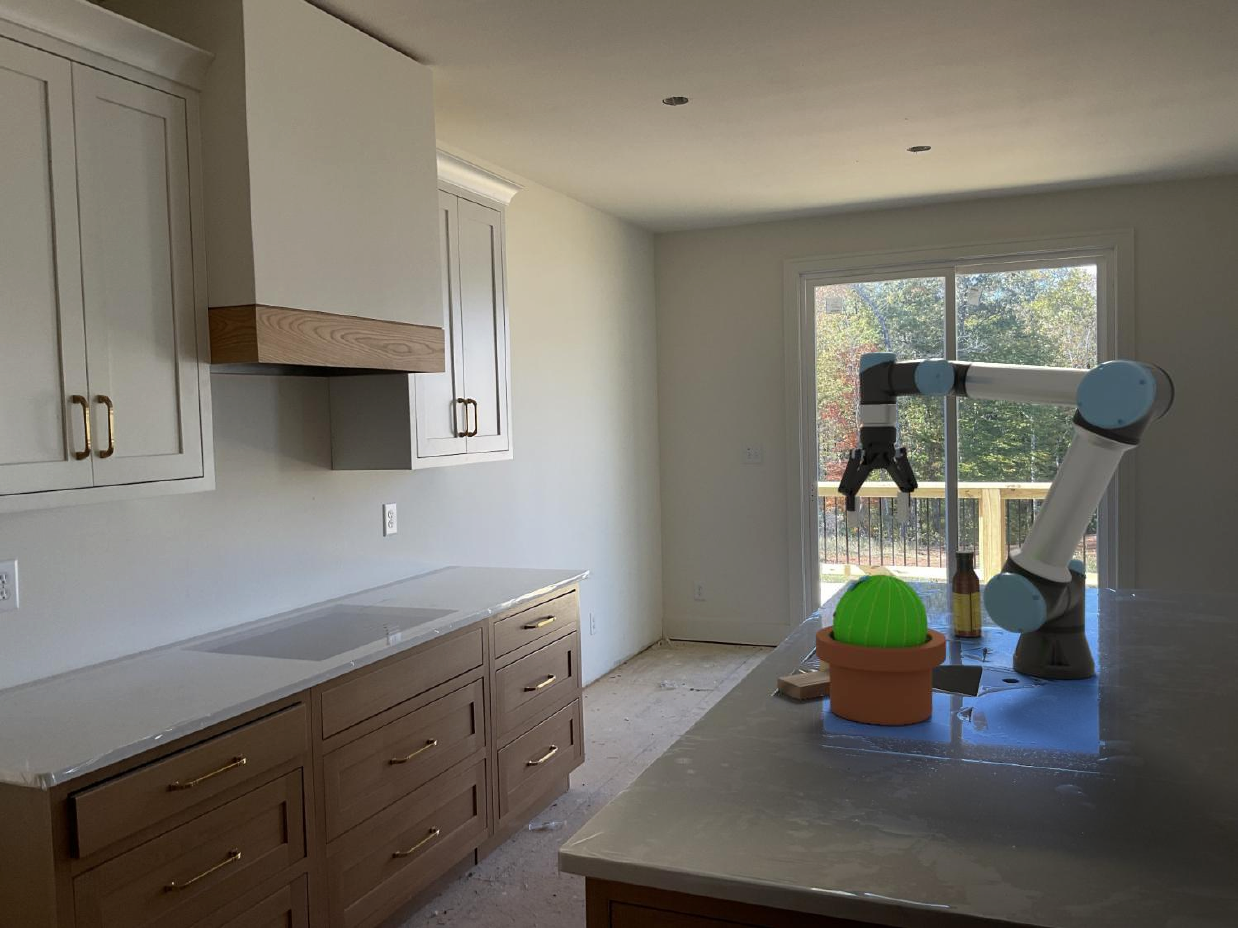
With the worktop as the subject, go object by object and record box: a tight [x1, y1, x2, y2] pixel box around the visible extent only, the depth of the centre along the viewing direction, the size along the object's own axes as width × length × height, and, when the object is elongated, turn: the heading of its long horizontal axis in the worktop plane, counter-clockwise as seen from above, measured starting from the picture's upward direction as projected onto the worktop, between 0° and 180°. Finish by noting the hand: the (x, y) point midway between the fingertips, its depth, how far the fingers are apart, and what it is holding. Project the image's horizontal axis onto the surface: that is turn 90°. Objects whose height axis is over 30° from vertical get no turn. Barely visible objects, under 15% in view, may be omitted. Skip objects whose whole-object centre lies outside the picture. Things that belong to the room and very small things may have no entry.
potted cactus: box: [815, 571, 947, 726], centre depth 171 cm, size 22×22×25 cm
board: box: [777, 669, 830, 701], centre depth 187 cm, size 7×22×3 cm, turn 117°
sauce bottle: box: [951, 549, 983, 638], centre depth 227 cm, size 7×6×20 cm
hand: (878, 524), depth 208 cm, fingers open, 13 cm apart
